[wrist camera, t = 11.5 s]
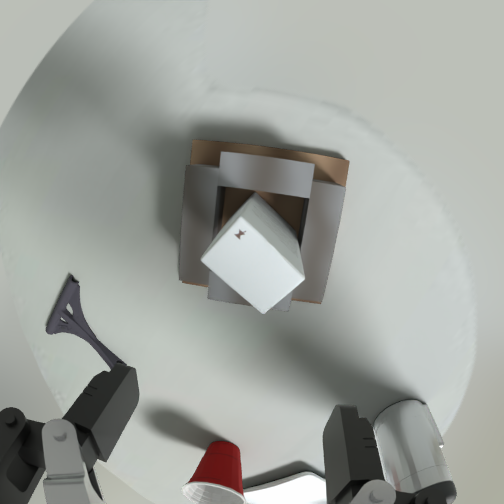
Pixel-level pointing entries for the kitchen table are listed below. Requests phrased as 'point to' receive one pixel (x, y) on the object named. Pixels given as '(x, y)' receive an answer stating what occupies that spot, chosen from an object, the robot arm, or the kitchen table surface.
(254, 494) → the salad plate
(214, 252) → the skincare box
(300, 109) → the kitchen table surface
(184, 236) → the holder
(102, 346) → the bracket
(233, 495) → the plastic cup
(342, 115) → the kitchen table surface
